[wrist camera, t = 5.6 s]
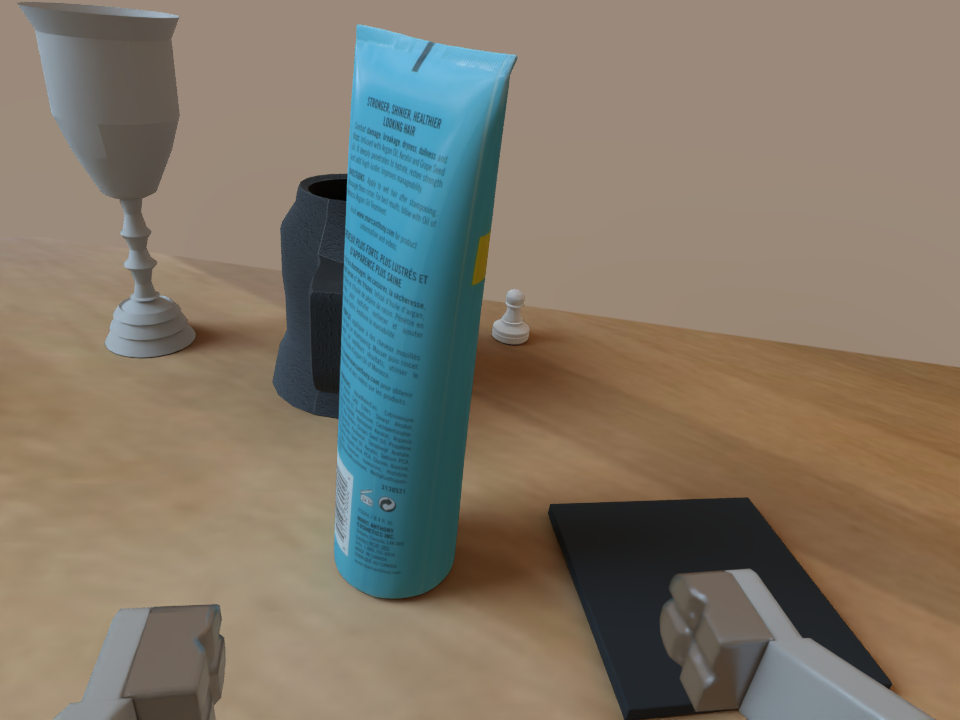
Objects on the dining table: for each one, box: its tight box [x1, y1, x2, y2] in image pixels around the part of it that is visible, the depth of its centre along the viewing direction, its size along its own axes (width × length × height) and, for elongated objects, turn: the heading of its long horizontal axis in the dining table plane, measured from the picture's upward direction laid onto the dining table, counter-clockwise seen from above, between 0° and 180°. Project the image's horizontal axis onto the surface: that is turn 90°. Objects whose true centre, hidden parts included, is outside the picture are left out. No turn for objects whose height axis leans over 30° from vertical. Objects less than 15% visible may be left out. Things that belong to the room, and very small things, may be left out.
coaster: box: [548, 498, 892, 720], centre depth 27 cm, size 10×10×1 cm
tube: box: [334, 24, 517, 599], centre depth 23 cm, size 7×5×19 cm, turn 44°
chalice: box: [18, 2, 196, 358], centre depth 37 cm, size 7×7×18 cm
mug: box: [273, 174, 348, 418], centre depth 35 cm, size 12×9×11 cm
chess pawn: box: [492, 289, 529, 344], centre depth 45 cm, size 3×3×4 cm
